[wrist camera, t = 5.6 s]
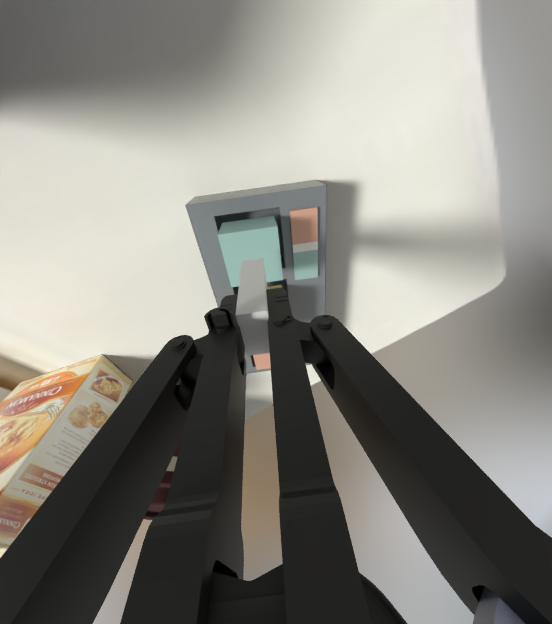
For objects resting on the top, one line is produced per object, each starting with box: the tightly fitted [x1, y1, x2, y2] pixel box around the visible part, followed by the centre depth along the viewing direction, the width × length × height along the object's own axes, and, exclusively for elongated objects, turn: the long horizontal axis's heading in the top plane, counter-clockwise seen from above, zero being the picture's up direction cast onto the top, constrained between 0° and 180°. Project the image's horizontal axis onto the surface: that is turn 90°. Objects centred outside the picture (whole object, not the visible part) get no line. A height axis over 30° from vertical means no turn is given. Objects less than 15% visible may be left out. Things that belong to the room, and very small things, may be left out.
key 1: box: [253, 353, 271, 370], centre depth 30 cm, size 5×5×4 cm
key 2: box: [218, 216, 283, 287], centre depth 20 cm, size 5×5×4 cm
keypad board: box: [185, 180, 326, 374], centre depth 27 cm, size 22×12×4 cm, turn 7°
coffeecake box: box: [0, 355, 133, 558], centre depth 28 cm, size 15×7×20 cm, turn 108°
